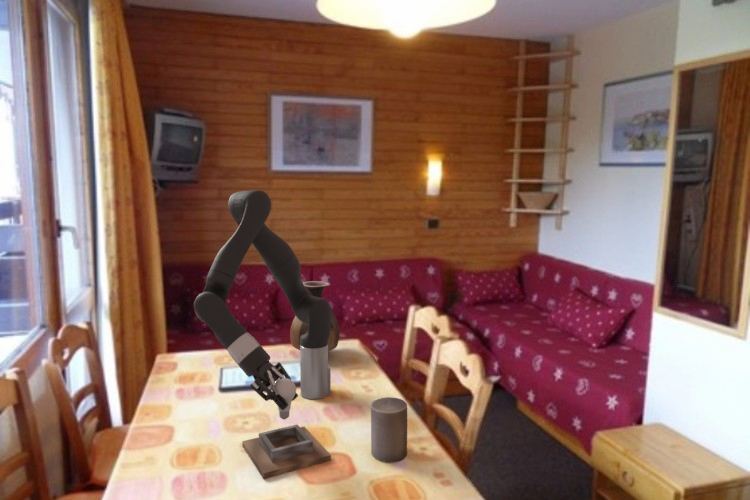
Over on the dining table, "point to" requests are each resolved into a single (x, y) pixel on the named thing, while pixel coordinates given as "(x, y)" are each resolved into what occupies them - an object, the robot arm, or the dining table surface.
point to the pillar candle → (389, 429)
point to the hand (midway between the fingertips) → (290, 402)
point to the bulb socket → (285, 451)
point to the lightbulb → (285, 394)
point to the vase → (302, 328)
